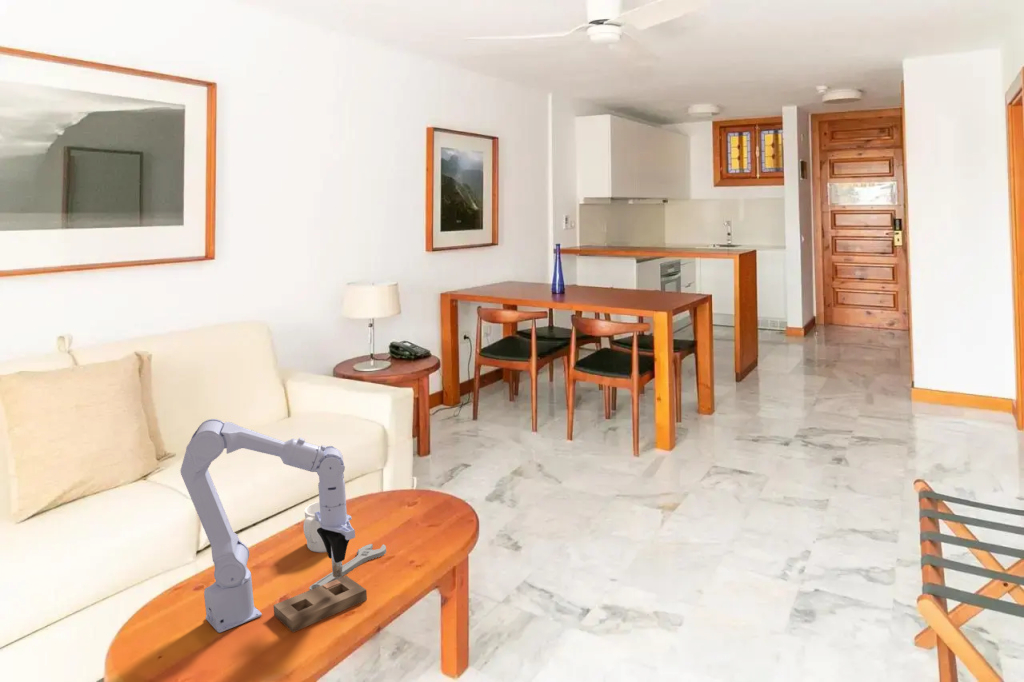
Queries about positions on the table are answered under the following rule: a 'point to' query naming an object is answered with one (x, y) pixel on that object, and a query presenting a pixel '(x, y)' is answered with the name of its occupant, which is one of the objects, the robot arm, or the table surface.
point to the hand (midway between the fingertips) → (336, 558)
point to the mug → (313, 529)
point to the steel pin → (336, 567)
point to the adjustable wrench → (353, 563)
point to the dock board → (319, 603)
